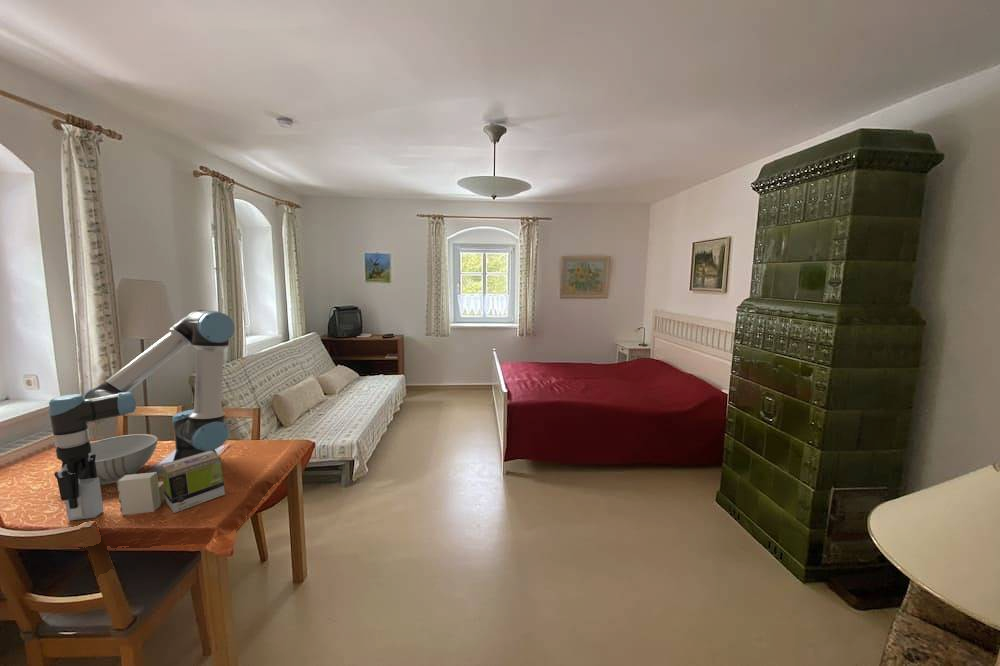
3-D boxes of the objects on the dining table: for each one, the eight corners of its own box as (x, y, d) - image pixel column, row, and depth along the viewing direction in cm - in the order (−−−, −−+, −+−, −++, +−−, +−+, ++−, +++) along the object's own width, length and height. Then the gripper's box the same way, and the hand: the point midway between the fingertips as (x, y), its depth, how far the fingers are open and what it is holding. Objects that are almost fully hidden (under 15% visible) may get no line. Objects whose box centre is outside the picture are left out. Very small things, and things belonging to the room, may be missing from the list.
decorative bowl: (103, 498, 140) (98, 466, 139) (45, 490, 146) (40, 459, 144) (178, 464, 166) (174, 436, 165) (127, 458, 172) (123, 431, 170)
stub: (78, 513, 131) (72, 480, 129) (103, 510, 133) (98, 477, 131) (68, 520, 127) (62, 486, 126) (94, 517, 129) (89, 483, 127)
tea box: (216, 486, 149) (212, 448, 147) (225, 495, 143) (221, 456, 141) (165, 503, 137) (160, 463, 135) (172, 514, 131) (167, 472, 129)
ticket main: (139, 500, 139) (134, 467, 138) (169, 497, 141) (165, 464, 140) (121, 515, 130) (116, 480, 129) (153, 511, 133) (149, 477, 131)
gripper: (79, 434, 134) (89, 499, 137) (34, 456, 117) (46, 529, 121) (106, 432, 136) (115, 496, 139) (65, 454, 119) (77, 526, 122)
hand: (83, 511), depth 130 cm, fingers closed on stub, 4 cm apart
